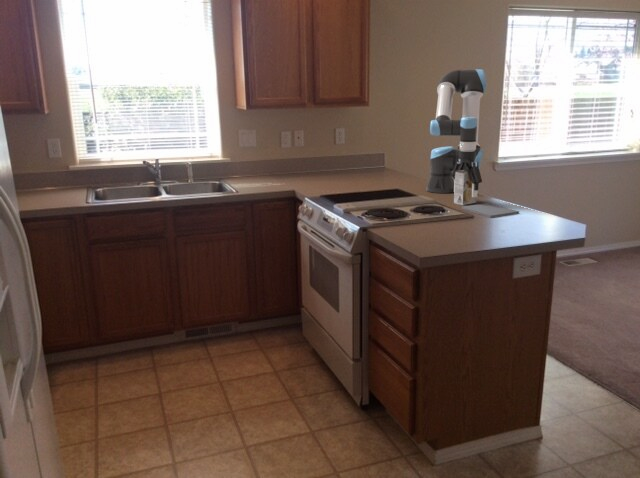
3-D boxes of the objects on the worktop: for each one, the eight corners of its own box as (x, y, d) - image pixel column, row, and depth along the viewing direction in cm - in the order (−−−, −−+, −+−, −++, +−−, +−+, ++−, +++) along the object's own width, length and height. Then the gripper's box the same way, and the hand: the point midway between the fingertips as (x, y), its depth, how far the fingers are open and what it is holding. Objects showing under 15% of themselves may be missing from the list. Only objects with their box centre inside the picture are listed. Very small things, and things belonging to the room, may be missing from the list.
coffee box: (467, 200, 278) (468, 168, 273) (476, 203, 272) (478, 170, 268) (453, 203, 273) (454, 170, 269) (462, 205, 268) (464, 172, 264)
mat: (461, 208, 261) (461, 206, 261) (488, 204, 268) (488, 202, 267) (490, 217, 244) (490, 215, 244) (518, 213, 250) (519, 211, 250)
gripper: (445, 148, 275) (443, 190, 281) (478, 153, 253) (475, 199, 259) (457, 147, 278) (455, 189, 284) (491, 152, 256) (488, 198, 262)
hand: (465, 194), depth 272 cm, fingers open, 13 cm apart
